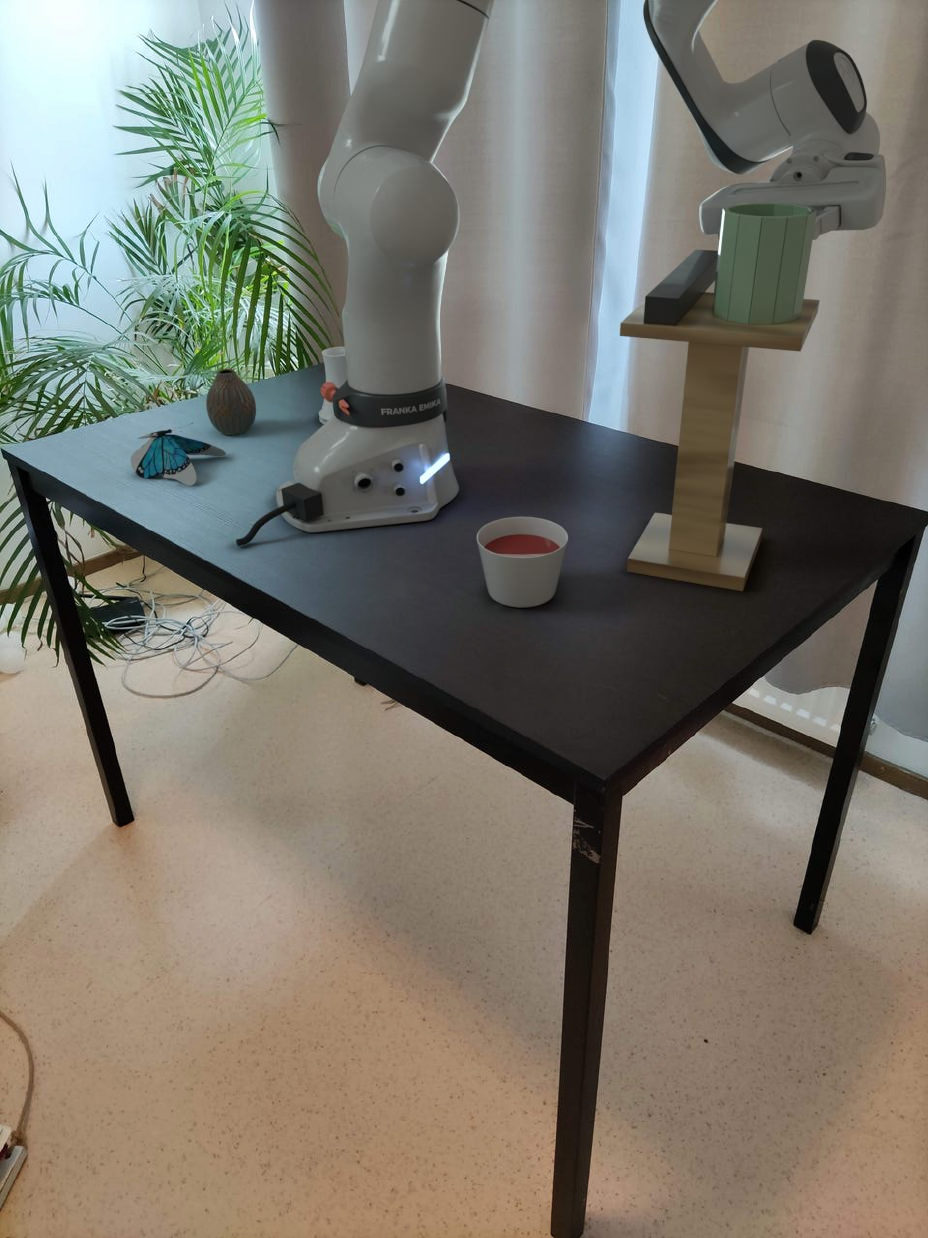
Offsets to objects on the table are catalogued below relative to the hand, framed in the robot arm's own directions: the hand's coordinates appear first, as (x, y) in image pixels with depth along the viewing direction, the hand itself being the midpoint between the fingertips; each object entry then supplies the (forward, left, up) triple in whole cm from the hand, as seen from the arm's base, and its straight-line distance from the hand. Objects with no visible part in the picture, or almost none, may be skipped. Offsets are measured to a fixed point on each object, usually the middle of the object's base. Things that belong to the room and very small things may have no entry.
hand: (764, 234), depth 107 cm
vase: (-54, +45, -29) cm, 76 cm away
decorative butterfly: (-64, +34, -29) cm, 78 cm away
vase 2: (-38, +43, -29) cm, 65 cm away
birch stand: (-16, -15, -29) cm, 37 cm away
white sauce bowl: (-36, -15, -29) cm, 49 cm away
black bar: (-16, -9, -3) cm, 18 cm away
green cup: (-14, -18, -3) cm, 22 cm away
